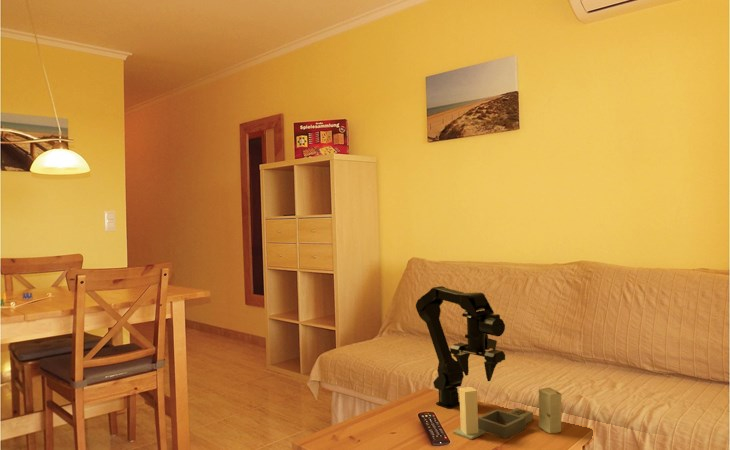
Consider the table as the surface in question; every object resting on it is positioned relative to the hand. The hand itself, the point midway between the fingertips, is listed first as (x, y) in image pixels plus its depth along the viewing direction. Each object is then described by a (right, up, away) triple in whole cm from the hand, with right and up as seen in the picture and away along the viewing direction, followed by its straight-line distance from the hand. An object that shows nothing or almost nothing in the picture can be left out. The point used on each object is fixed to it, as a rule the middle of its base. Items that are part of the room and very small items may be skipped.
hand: (477, 378), depth 180 cm
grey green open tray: (+8, -13, -8) cm, 17 cm away
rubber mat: (-5, -14, -12) cm, 19 cm away
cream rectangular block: (-5, -13, -12) cm, 19 cm away
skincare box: (+20, -13, -12) cm, 27 cm away
